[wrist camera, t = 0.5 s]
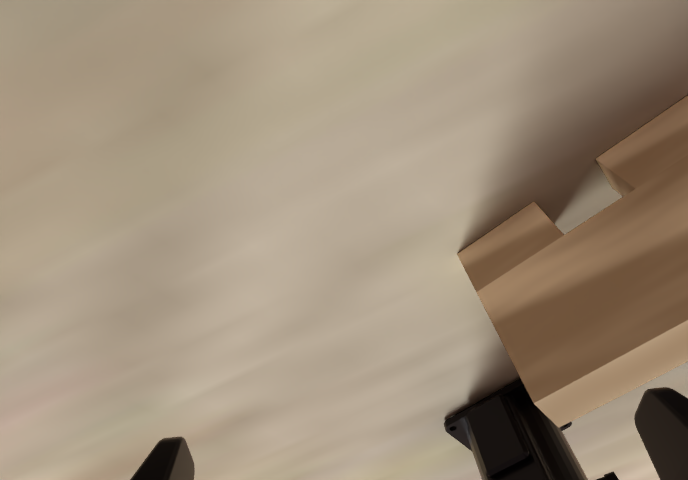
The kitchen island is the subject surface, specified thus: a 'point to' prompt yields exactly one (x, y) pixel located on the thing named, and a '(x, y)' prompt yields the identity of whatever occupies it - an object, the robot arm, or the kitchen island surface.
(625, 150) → the upright wooden plank
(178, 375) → the kitchen island surface
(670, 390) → the robot arm
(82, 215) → the kitchen island surface
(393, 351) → the kitchen island surface
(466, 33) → the kitchen island surface
